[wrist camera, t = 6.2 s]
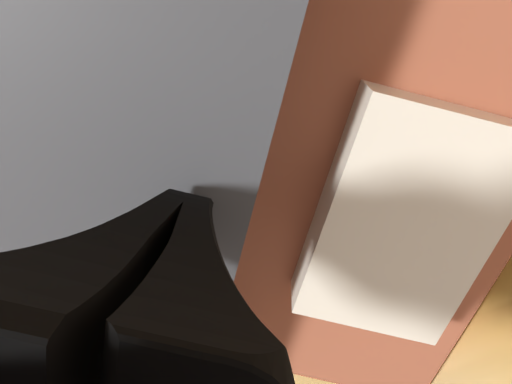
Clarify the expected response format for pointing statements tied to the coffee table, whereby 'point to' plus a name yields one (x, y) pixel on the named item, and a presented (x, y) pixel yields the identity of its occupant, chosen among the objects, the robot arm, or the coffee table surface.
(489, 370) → the coffee table surface
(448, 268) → the cream white tile
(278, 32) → the deck
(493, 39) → the mat
